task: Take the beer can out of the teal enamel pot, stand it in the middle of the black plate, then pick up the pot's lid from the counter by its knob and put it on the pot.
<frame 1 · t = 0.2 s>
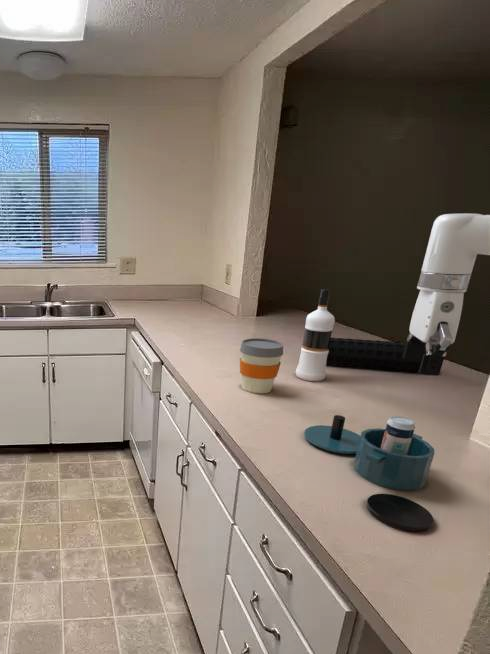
hand: (419, 366, 89), 22 cm above the countertop, tool pointing down, fingers open, 9 cm apart
reusable coffee cup: (256, 388, 140), on the countertop
roller: (357, 366, 160), on the countertop
beer can: (388, 472, 92), resting on pot
black plate: (398, 514, 80), on the countertop
pot: (387, 473, 92), on the countertop
lid: (334, 439, 105), point 1 cm above the countertop
vodka: (309, 377, 149), on the countertop
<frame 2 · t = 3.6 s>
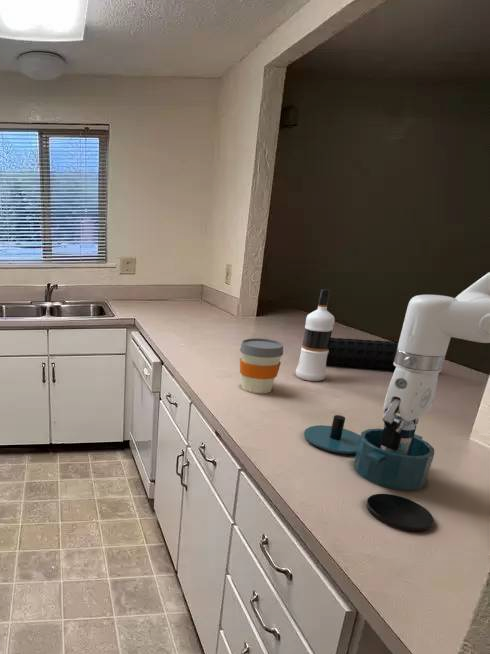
hand: (395, 443, 90), 7 cm above the countertop, tool pointing down, fingers closed on beer can, 4 cm apart
beer can: (388, 472, 92), resting on pot, touching gripper
everything else where it was.
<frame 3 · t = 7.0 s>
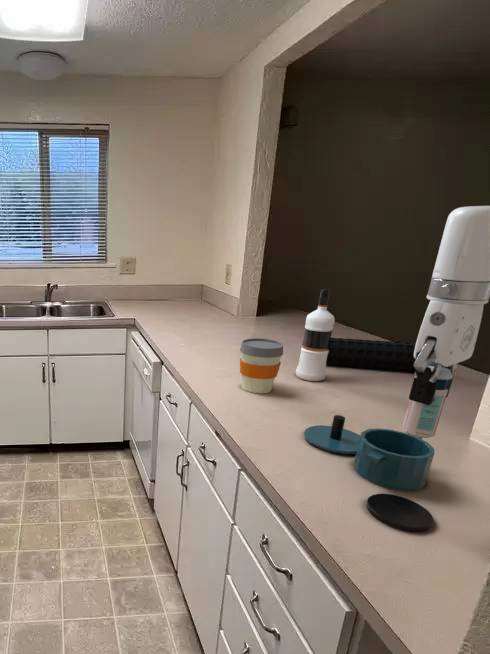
hand: (428, 397, 74), 22 cm above the countertop, tool pointing down, fingers closed on beer can, 4 cm apart
beer can: (417, 434, 76), point 15 cm above the countertop, touching gripper
everything else where it was.
when the fingers open (8 cm above the countertop, at t = 10.7 s): beer can stays where it is, resting on black plate.
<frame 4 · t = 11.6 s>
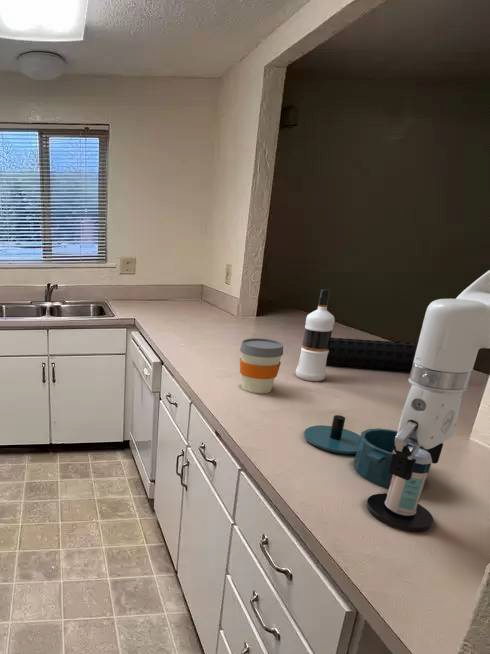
hand: (413, 467, 76), 10 cm above the countertop, tool pointing down, fingers open, 9 cm apart
beer can: (399, 510, 79), point 1 cm above the countertop, touching black plate
everything else where it was.
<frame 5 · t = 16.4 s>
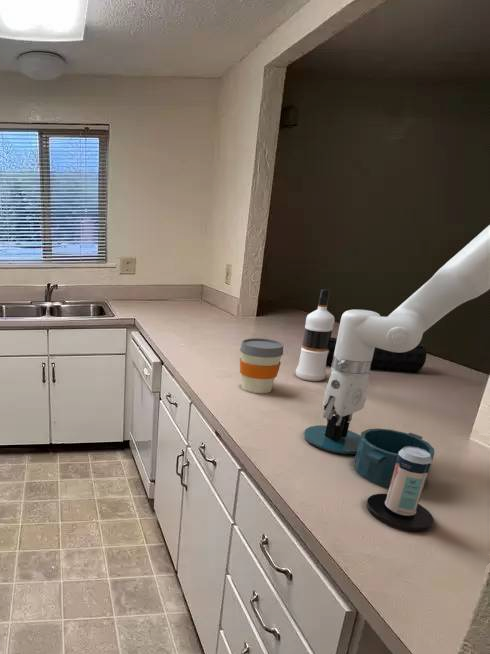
hand: (335, 436, 105), 2 cm above the countertop, tool pointing down, fingers closed on lid, 2 cm apart
lid: (334, 439, 105), point 1 cm above the countertop, touching gripper
everything else where it was.
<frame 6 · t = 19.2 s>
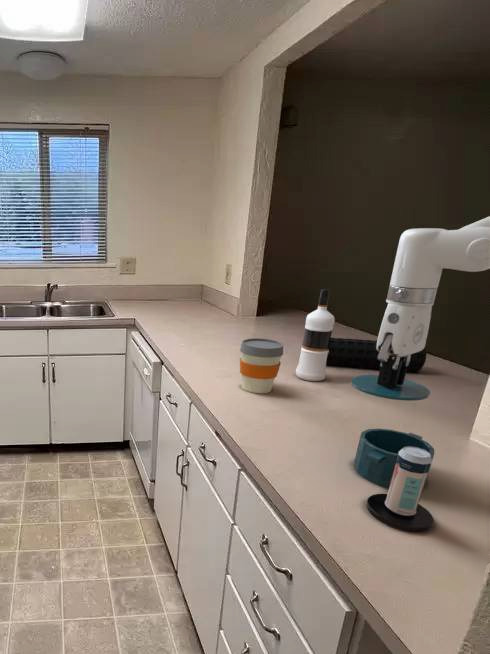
hand: (389, 383, 90), 19 cm above the countertop, tool pointing down, fingers closed on lid, 2 cm apart
lid: (388, 388, 90), point 18 cm above the countertop, touching gripper
everything else where it was.
when the fingers open (8 cm above the countertop, at t = 22.4 s): lid stays where it is, resting on pot.
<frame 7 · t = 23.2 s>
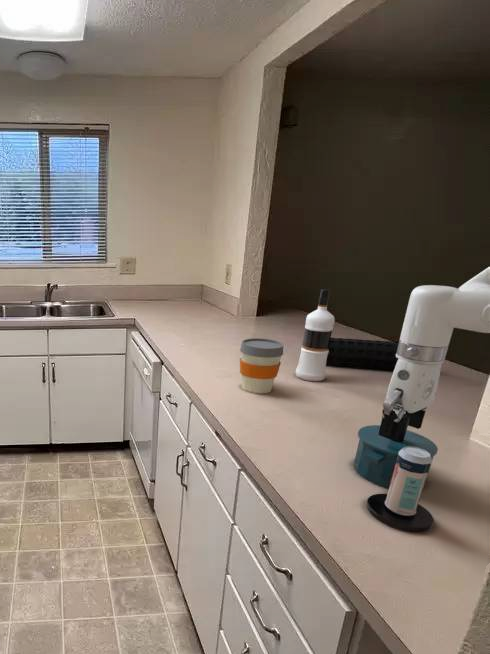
hand: (399, 431, 89), 10 cm above the countertop, tool pointing down, fingers open, 9 cm apart
lid: (395, 442, 90), point 7 cm above the countertop, touching pot
everything else where it was.
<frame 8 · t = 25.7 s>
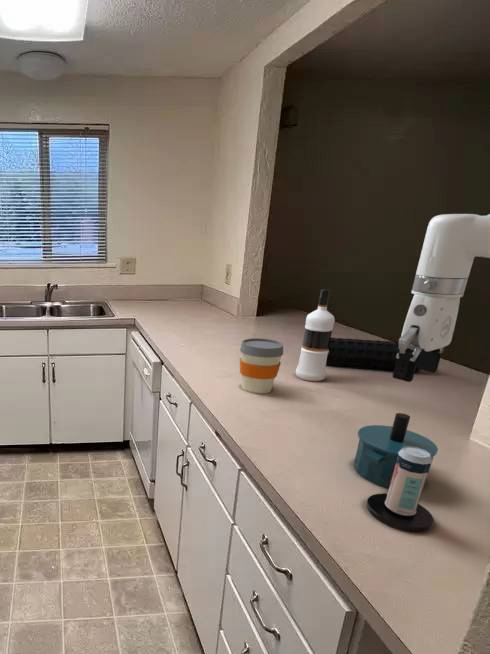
hand: (414, 375, 85), 22 cm above the countertop, tool pointing down, fingers open, 9 cm apart
nothing on the countertop moved.
at the end: beer can 0.1 cm off-centre on the black plate, point 0.8 cm above the black plate's base; lid 0.1 cm off-centre on the pot, point 7.5 cm above the pot's base; lid tilted 0° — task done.
